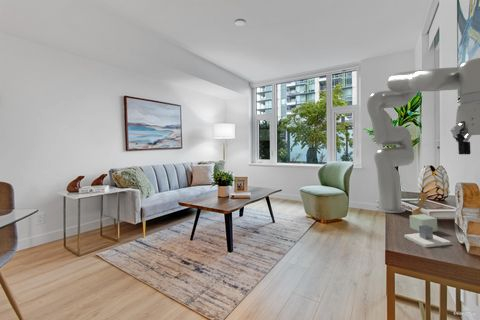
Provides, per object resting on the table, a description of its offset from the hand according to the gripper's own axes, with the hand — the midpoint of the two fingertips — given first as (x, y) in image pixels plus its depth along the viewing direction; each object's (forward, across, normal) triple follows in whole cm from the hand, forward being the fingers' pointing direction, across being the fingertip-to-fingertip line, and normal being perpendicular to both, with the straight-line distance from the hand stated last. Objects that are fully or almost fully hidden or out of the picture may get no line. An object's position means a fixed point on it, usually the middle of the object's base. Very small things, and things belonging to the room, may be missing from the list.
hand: (478, 153), depth 75 cm
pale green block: (+30, +6, -16) cm, 34 cm away
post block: (+30, +14, -6) cm, 33 cm away
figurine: (+30, -3, -27) cm, 40 cm away
